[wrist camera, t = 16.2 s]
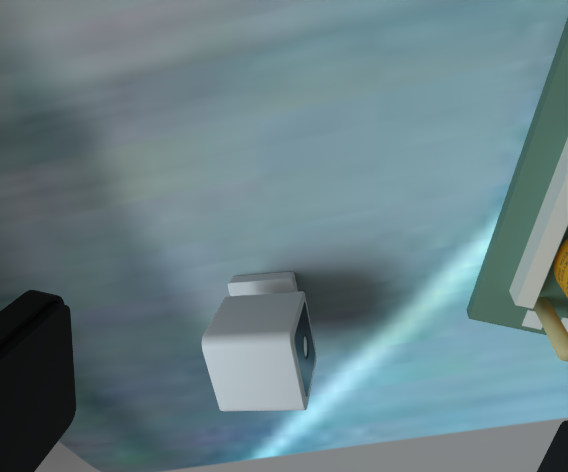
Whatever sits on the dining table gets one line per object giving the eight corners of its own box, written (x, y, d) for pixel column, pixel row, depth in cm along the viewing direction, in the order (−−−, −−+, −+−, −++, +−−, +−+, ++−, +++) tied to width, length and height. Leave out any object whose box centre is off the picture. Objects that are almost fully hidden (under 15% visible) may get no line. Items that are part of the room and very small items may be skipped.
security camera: (323, 330, 42) (306, 415, 33) (246, 334, 44) (210, 416, 35) (311, 264, 40) (290, 336, 31) (230, 271, 42) (187, 341, 33)
